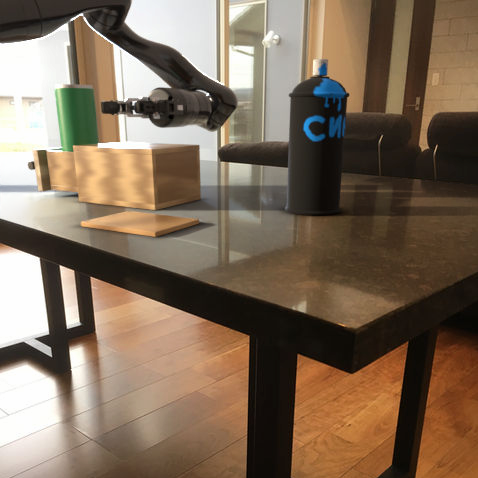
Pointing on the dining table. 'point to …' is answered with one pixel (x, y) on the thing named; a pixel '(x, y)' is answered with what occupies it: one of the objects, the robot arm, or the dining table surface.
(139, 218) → the cork mat
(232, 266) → the dining table surface
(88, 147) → the cabinet
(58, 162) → the drawer
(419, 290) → the dining table surface
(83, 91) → the green can
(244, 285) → the dining table surface
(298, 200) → the aerosol can
